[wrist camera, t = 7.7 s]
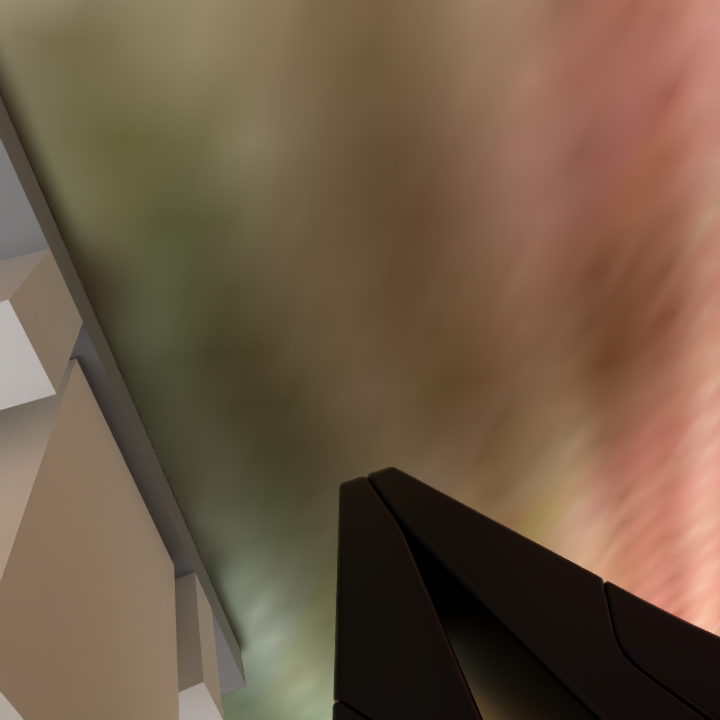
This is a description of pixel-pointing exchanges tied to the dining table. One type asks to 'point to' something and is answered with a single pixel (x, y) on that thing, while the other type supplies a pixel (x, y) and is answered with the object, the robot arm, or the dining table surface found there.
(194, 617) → the grey angular frame
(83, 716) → the beige angular block
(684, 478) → the dining table surface
